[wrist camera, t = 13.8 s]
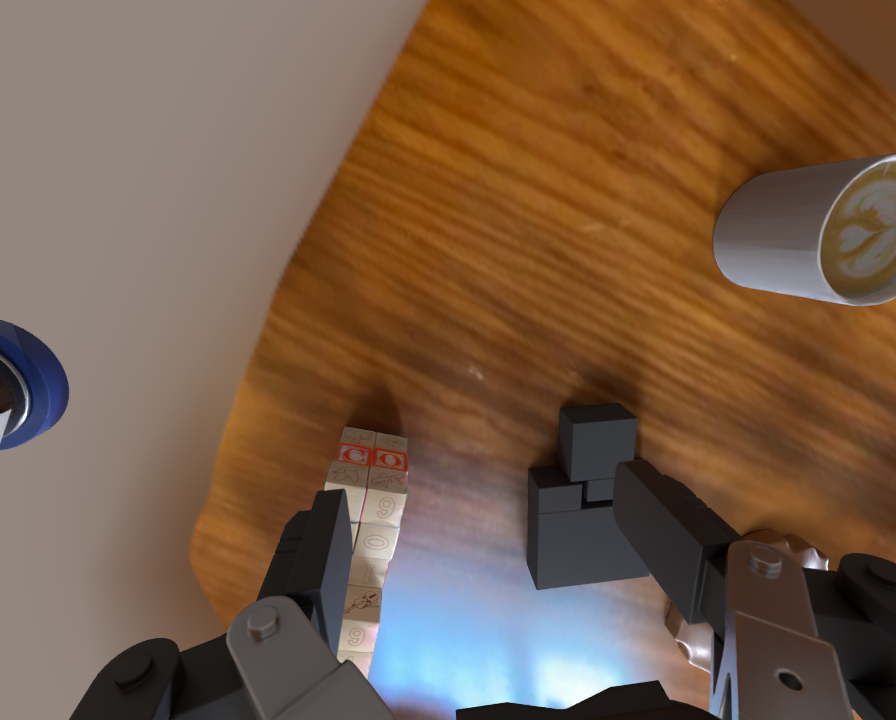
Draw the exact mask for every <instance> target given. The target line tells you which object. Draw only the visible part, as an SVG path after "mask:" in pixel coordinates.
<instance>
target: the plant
mask: <svg viewBox="0 0 896 720" xmlns="http://www.w3.org/2000/svg"><path fill="white" fill-rule="evenodd" d="M743 538H744V539H745V540H751V541H757V542H762V543H765V544H768V545H771V546H773V547H775V548H777V549H779V550H781V551H783V552H785V553H786V554H788V555H789V556H791V557H792V558H793V559H794V560H795V561H796V562H797V563H798V564H799V565H800V566H801V567H806V568H814V569H822V570H828V557H827V556H826V555H825V554H823V553H822V552H821V551H819V550H818V549H817V548H816V547H814V546H811V545H810V544H809V543H807V542H806V541H805V540H803V539H802V538H801V537H800V536H798V535H795V534H793V535H789V536H785V537H782V536H781V535H779V534H778V533H777V532H776V531H774V530H771V529H770V530H762V531H757V532H754V533H751V534H748V535H746V536H744V537H743ZM665 626H666V627H667V629H668V630H669V632H670V633H671V635H672V636H673V638H674V639H675V640H676V641H678V646H679V648H680V650H681V651H682V653H683V654H684V656H685V657H686V659H687V660H688V661H689V662H690V663H691V664H692V665H694V666H697V667H699V668H701V669H703V670H705V671H707V672H709V673H711V639H712V633H713V628H712V627H711V626H710V624H709V623H702V624H695V625H688V624H687V622H686V621H685V619H684V618H683V617H682V615H681V614H680V612H679V611H678V610H677V608H676V607H675V606H674V604H673V603H672V604H671V607H670V613H669V615H668V617H667V619H666V621H665ZM851 709H853V708H852V707H851Z"/></svg>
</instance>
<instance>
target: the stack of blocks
mask: <svg viewBox="0 0 896 720" xmlns="http://www.w3.org/2000/svg"><path fill="white" fill-rule="evenodd" d="M407 475H408V439H407V438H404V437H399V436H394V435H389V434H383V433H376V432H374V431H369V430H363V429H358V428H351V427H344V429H343V432H342V435H341V439H340V442H339V444H338V447H337V450H336V453H335V457H334V460H333V461H332V462H331V465H330V468H329V471H328V475H327V478H326V482H325V486H324V490H333V489H343V488H344V489H345V490H346V494H347V501H348V508H349V516H350V523H351V530H352V542H353V550H352V561H351V567H350V574H349V580H348V587H347V594H346V600H345V607H344V614H343V620H342V627H341V633H340V640H339V647H338V653H337V659H338V660H339V662H341V663H342V662H344V661H345V660H346V659H349V660H351V661H352V662H353V663H354V664H355V665H356V666H357V667H358V668H359V670H360V671H361V672H362V674H363V675H364V676H365V678H366V679H367V677H368V673H369V669H370V665H371V661H372V656H373V650H374V647H375V642H376V638H377V634H378V630H379V626H380V614H381V601H382V588H383V585H384V582H385V578H386V574H387V570H388V567H389V563H390V560H391V559H392V556H393V553H394V549H395V546H396V542H397V538H398V534H399V530H400V521H401V517H402V513H403V509H404V505H405V502H406V498H407Z"/></svg>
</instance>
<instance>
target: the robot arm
mask: <svg viewBox="0 0 896 720" xmlns="http://www.w3.org/2000/svg"><path fill="white" fill-rule="evenodd" d="M32 407H33V394H32V390H31V386H30V384H29V382H28V380H27V378H26V376H25V374H24V373H23V371H22V370H21V369H20V368H19V366H18V365H17V364H16V363H15V362H14V361H13V360H11V359H10V358H9V357H8V356H7V355H5V354H4V353H2V352H1V351H0V443H1V440H2V438H4V437H6V436H8V435H10V434H12V433H13V432H15V431H17V430H18V429H20V428H21V427H22V426H23V425H24V424H25V423H26V422H27V420H28V418H29V416H30V414H31V411H32ZM613 515H614V519H615V522H616V524H617V526H618V528H619V530H620V531H621V532H622V534H623V535H624V536H625V538H626V539H627V541H628V542H629V543H630V545H631V546H632V547H633V549H634V550H635V552H636V553H637V554H638V556H639V557H640V559H641V560H642V561H643V563H644V564H645V565H646V567H647V568H648V570H649V571H650V572H651V574H652V575H653V577H654V578H655V579H656V581H657V582H658V583H659V585H660V586H661V588H662V589H663V590H664V592H665V593H666V595H667V596H668V597H669V599H670V600H671V601H672V603H673V604H674V606H675V607H676V608H677V610H678V611H679V612H680V614H681V615H682V617H683V618H684V619H685V621H686V622H687V624H688V625H695V624H702V623H709V624H710V626H711V627H712V628H713V633H712V639H711V673H710V712H707V711H705V710H703V709H700V708H698V707H695V706H692V705H689V704H686V703H682V702H679V701H675V700H669V698H668V696H667V695H666V693H665V691H664V689H663V688H662V686H661V684H660V682H659V680H656V681H649V682H642V683H636V684H629V685H622V686H615V687H610V688H608V689H606V690H604V691H602V692H600V693H597V694H595V695H593V696H591V697H589V698H587V699H585V700H583V701H581V702H579V703H577V704H575V705H573V706H571V707H569V708H567V709H553V708H546V707H538V706H531V705H523V704H516V703H509V702H506V703H499V704H492V705H485V706H478V707H471V708H465V709H458V710H456V720H854V717H853V713H852V709H851V707H852V708H853V709H854V710H855V711H856V713H857V714H858V715H859V716H860V717H861V718H862V719H863V720H896V564H895V563H893V562H891V561H888V560H886V559H883V558H880V557H876V556H873V555H868V554H861V553H852V554H847V555H844V556H843V557H842V558H841V560H840V563H839V567H838V570H837V571H829V570H822V569H814V568H806V567H801V566H800V565H799V564H798V563H797V562H796V561H795V560H794V559H793V558H792V557H791V556H789V555H788V554H786V553H785V552H783V551H781V550H779V549H777V548H775V547H773V546H771V545H768V544H765V543H762V542H757V541H751V540H745V539H744V538H743V537H741V536H740V535H739V534H738V533H737V532H736V531H735V530H734V529H733V528H732V527H730V526H729V525H728V524H727V523H726V522H725V521H724V520H723V519H722V518H721V517H719V516H718V515H717V514H716V513H715V512H714V511H713V510H712V509H711V508H708V507H707V505H706V504H705V503H704V502H703V501H702V500H701V499H700V498H697V497H696V495H695V494H694V493H693V492H692V491H691V490H690V489H689V488H687V487H686V486H685V485H684V484H683V483H681V482H679V481H677V480H675V479H673V478H671V477H669V476H668V475H662V474H661V473H659V472H658V471H657V470H656V469H655V468H654V467H653V466H652V465H651V464H650V463H649V462H648V461H646V460H633V461H623V462H619V463H618V464H617V466H616V471H615V483H614V494H613ZM352 550H353V542H352V530H351V523H350V516H349V508H348V501H347V494H346V490H345V489H344V488H343V489H333V490H323V491H318V492H317V494H316V497H315V500H314V503H313V506H312V509H311V510H308V511H298V512H297V513H296V515H295V516H294V517H293V518H292V519H291V520H290V521H289V522H288V523H287V524H286V525H285V528H284V531H283V533H282V536H281V538H280V542H279V543H278V546H277V548H276V551H275V555H274V556H273V559H272V561H271V564H270V566H269V569H268V571H267V574H266V577H265V579H264V582H263V584H262V587H261V589H260V592H259V595H258V597H257V600H256V602H254V603H252V604H251V605H249V606H248V607H246V608H245V609H244V610H242V611H241V612H240V613H239V614H238V615H237V616H236V618H235V619H234V620H233V621H232V623H231V625H230V627H229V629H228V631H227V633H225V634H223V635H222V636H220V637H218V638H215V639H213V640H210V641H208V642H205V643H203V644H200V645H198V646H195V647H192V648H190V649H187V650H185V651H182V652H179V649H178V646H177V644H176V643H175V642H174V641H172V640H170V639H166V638H156V639H150V640H146V641H143V642H141V643H138V644H136V645H134V646H132V647H130V648H128V649H127V650H125V651H123V652H122V653H120V654H119V655H117V656H116V657H115V658H114V659H113V660H111V661H110V662H109V663H108V664H107V665H106V666H105V667H104V668H103V669H102V670H101V671H100V673H98V675H97V676H96V678H95V679H94V681H93V682H92V684H91V685H90V687H89V689H88V690H87V692H86V693H85V695H84V697H83V698H82V700H81V701H80V703H79V704H78V706H77V708H76V709H75V711H74V712H73V714H72V716H71V717H70V719H69V720H397V718H396V717H395V716H394V714H393V713H392V712H391V710H390V709H389V708H388V707H387V705H386V704H385V703H384V701H383V700H382V699H381V697H380V696H379V695H378V693H377V692H376V691H375V689H374V688H373V687H372V686H371V684H370V683H369V682H368V680H367V679H366V678H365V676H364V675H363V674H362V672H361V671H360V670H359V668H358V667H357V666H356V665H355V664H354V663H353V662H352V661H351V660H349V659H346V660H345V661H344V662H342V663H341V662H339V660H338V659H337V653H338V647H339V640H340V633H341V627H342V620H343V614H344V607H345V600H346V594H347V587H348V580H349V574H350V567H351V561H352Z"/></svg>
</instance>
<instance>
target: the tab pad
mask: <svg viewBox="0 0 896 720" xmlns="http://www.w3.org/2000/svg"><path fill="white" fill-rule="evenodd" d="M637 420H638V418H637V417H636V416H634V415H633V414H632V413H631V412H630V411H628V410H627V409H626V408H625V407H623V406H622V405H621V404H620V403H614V404H602V405H590V406H579V407H567V408H560V418H559V445H558V463H559V465H560V466H561V468H562V469H563V471H564V472H565V474H566V475H567V477H568V478H569V480H570V481H571V482H574V481H580V482H581V483H582V495H583V496H584V498H585V499H586V501H587V502H589V501H599V500H608V499H613V491H614V479H615V478H614V477H615V471H616V466H617V464H618V463H619V462H623V461H633V460H634V451H635V441H636V431H637Z"/></svg>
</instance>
